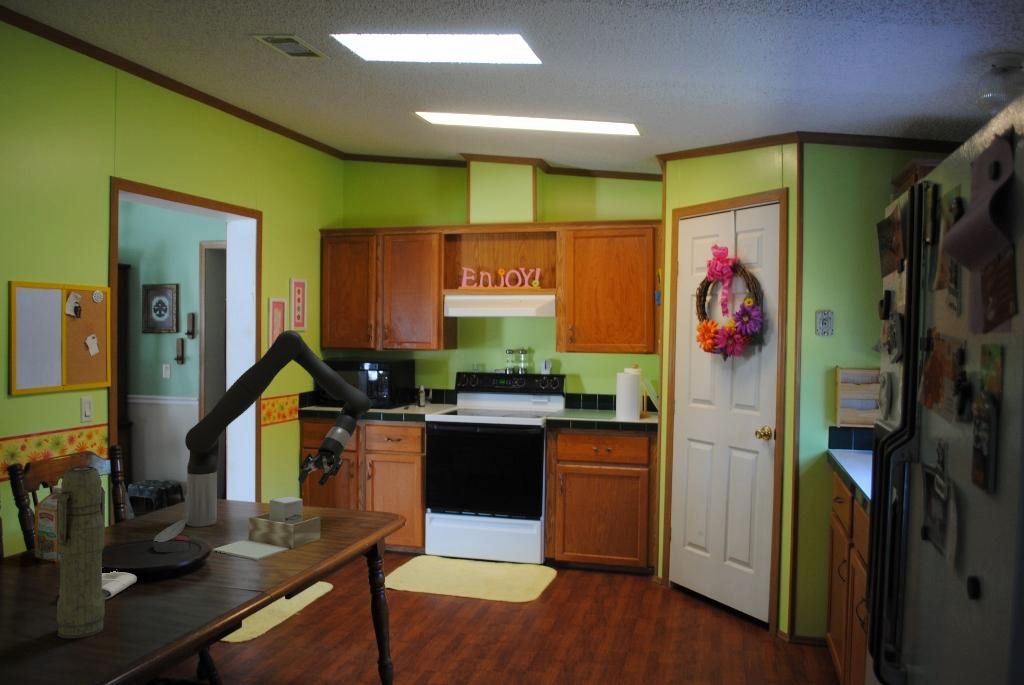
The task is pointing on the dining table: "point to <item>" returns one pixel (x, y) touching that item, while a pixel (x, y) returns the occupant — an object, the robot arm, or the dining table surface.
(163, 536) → the canned food
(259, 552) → the mat
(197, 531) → the dining table surface
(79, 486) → the thermos
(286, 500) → the supplement box
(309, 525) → the box
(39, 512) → the milk carton
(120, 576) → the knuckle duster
